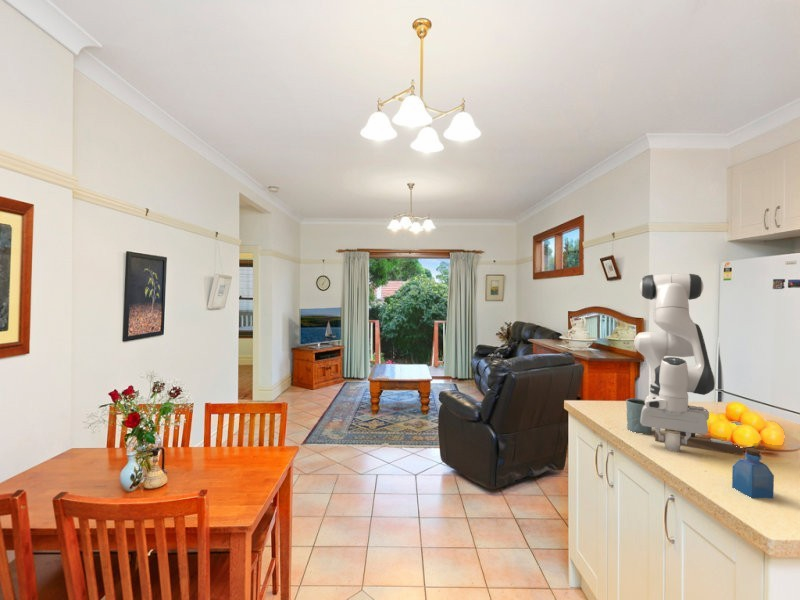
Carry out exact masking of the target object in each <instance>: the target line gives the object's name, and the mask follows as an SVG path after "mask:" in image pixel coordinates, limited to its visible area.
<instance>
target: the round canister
mask: <svg viewBox="0 0 800 600" xmlns="http://www.w3.org/2000/svg"><path fill="white" fill-rule="evenodd" d="M664 431H665V432H664V433H665V442H664V449H665V450H666V449H667V451H669V450H670V451H669V452H673V451H674V452H673V453H676V452H677V453H679V452H681V445H680V431H675V430H668V429H664Z"/></svg>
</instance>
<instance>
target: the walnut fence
mask: <svg viewBox="0 0 800 600" xmlns="http://www.w3.org/2000/svg"><path fill="white" fill-rule="evenodd" d="M659 432H660V431H659ZM660 434H661V435H663V436H664V438H663V439H664V441H660V440H659V436H658V434H657V432H656V431H654V442H658V441H660V443H665V432H660ZM685 437H686V436H681V435H680V446H683V447H684V446H685V447H689V448H690V447H691V448H696V449H702V450H703V449H704V450H710V451H714V452H722V453H727V452H729V453H728V454H733V453H735V455H738V456H739V455H740V456H744V448H740V446H738V445H734V444H732V442H731V441H726V440H725V441H721V440H722V439H718V438H709V439H705V438H699V437H695V438H694V437H690V438H689V439H688V440H687V445H685V444H682V438H685ZM736 446H737V447H736Z"/></svg>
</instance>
